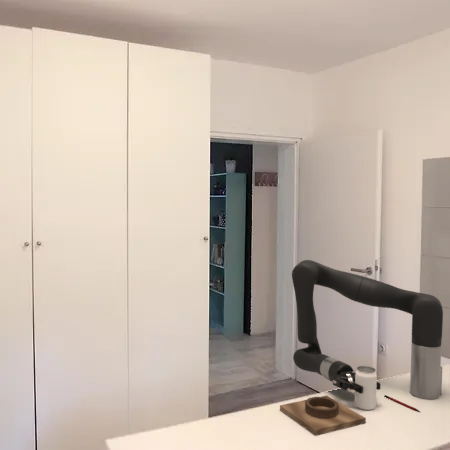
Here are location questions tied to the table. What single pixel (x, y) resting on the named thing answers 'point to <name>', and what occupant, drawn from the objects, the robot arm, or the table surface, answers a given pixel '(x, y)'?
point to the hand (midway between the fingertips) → (370, 388)
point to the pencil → (402, 403)
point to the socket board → (322, 423)
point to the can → (366, 388)
